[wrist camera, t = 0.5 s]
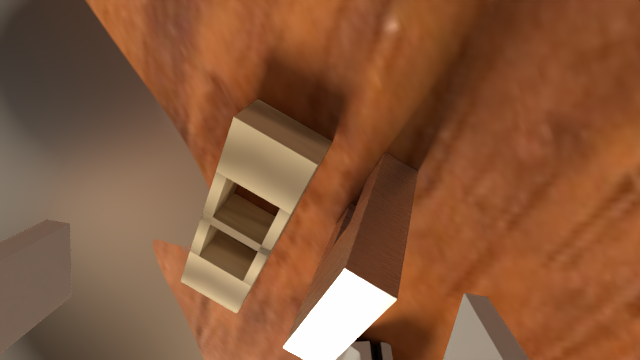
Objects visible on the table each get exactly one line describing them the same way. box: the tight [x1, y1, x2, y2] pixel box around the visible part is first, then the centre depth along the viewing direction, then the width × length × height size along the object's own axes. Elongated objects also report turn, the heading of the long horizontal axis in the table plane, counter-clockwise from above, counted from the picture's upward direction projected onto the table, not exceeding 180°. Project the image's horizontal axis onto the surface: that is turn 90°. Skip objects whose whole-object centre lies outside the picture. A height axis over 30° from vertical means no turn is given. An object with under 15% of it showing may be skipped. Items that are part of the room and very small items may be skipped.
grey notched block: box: [283, 153, 418, 360], centre depth 26 cm, size 9×3×13 cm, turn 157°
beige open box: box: [181, 99, 332, 314], centre depth 34 cm, size 22×7×4 cm, turn 157°
